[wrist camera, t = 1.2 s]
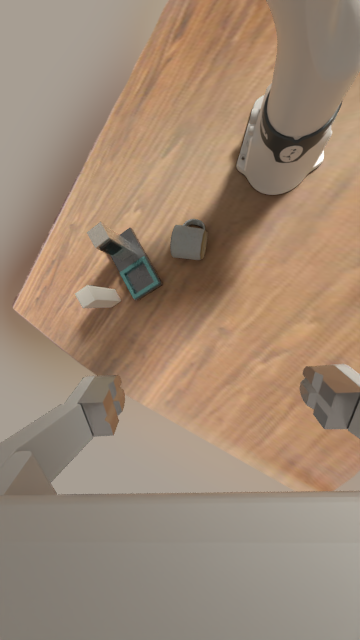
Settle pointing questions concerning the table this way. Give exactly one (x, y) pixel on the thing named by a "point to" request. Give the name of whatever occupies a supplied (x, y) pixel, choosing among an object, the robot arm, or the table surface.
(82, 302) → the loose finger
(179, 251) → the ceramic mug
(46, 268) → the table surface
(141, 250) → the tray with white post
